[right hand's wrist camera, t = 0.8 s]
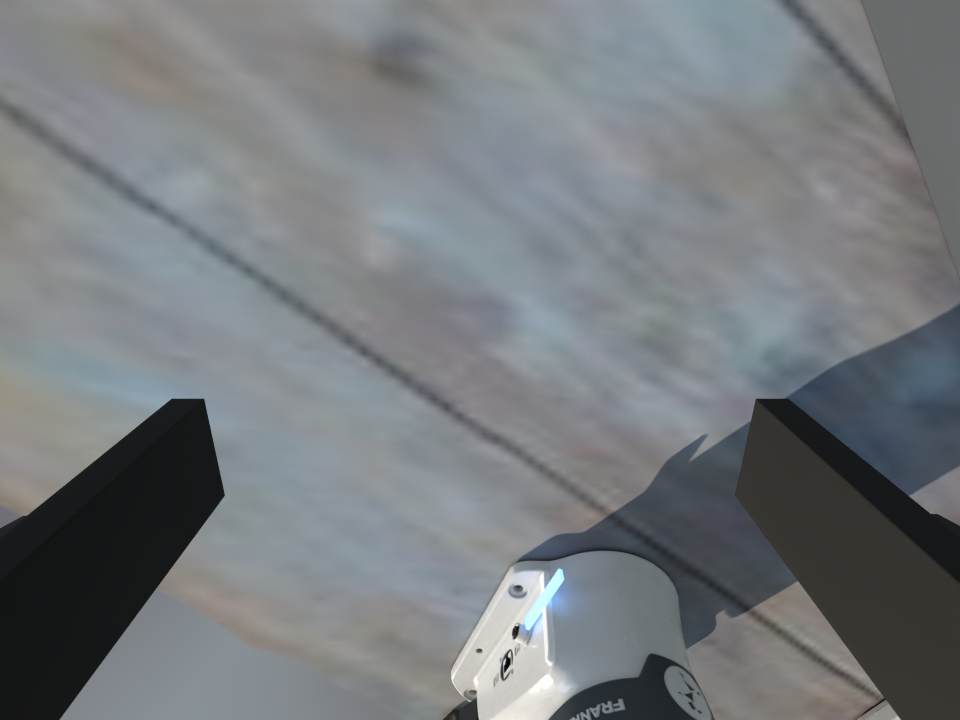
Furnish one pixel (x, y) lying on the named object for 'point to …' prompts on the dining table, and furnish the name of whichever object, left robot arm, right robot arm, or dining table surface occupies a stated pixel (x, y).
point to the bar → (927, 93)
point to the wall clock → (881, 713)
